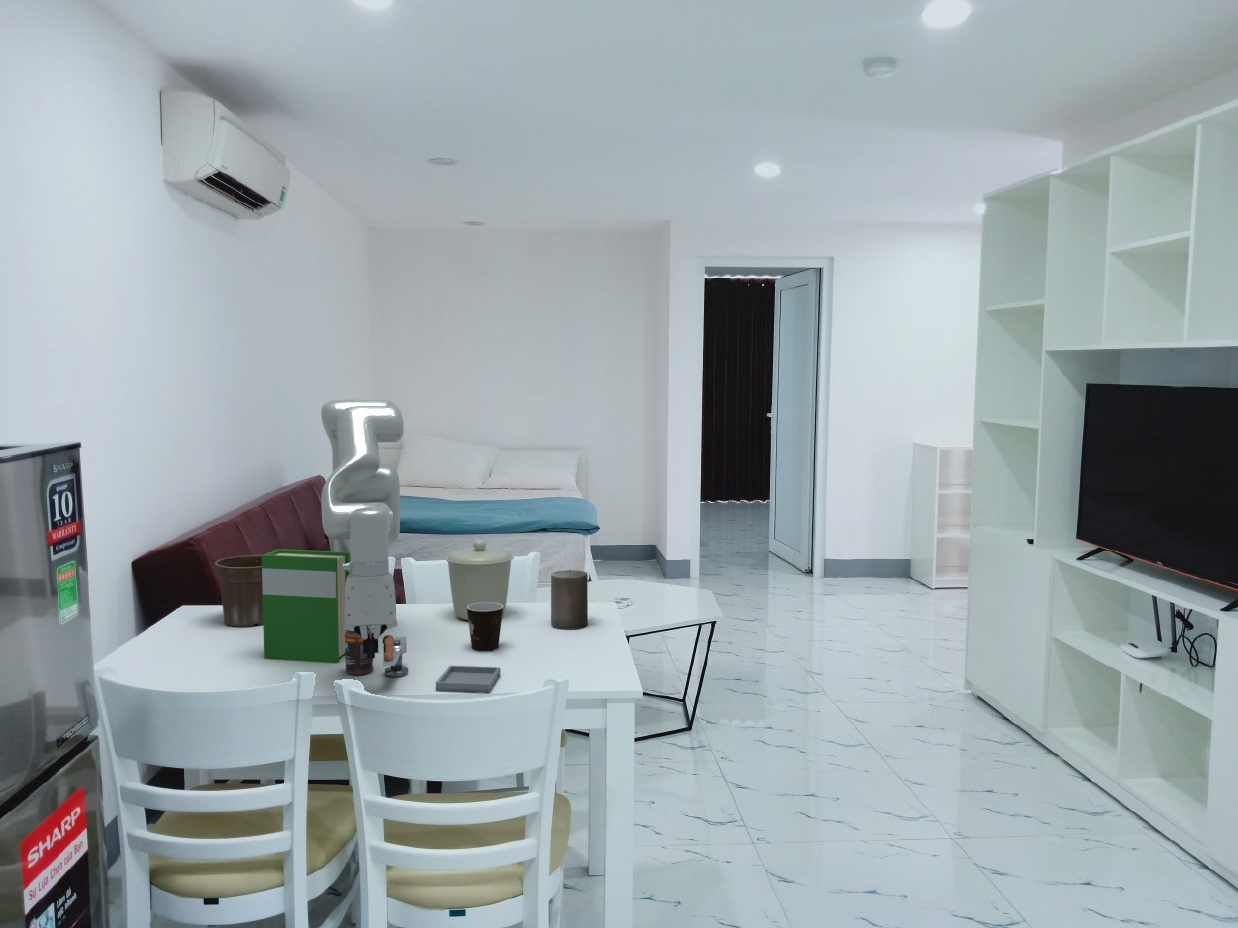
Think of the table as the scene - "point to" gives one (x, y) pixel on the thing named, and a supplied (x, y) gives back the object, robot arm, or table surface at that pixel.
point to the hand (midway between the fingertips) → (371, 656)
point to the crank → (393, 649)
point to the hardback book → (304, 605)
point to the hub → (396, 669)
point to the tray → (468, 679)
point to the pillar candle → (569, 599)
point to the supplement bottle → (356, 654)
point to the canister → (478, 576)
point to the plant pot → (241, 590)
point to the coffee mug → (485, 625)
